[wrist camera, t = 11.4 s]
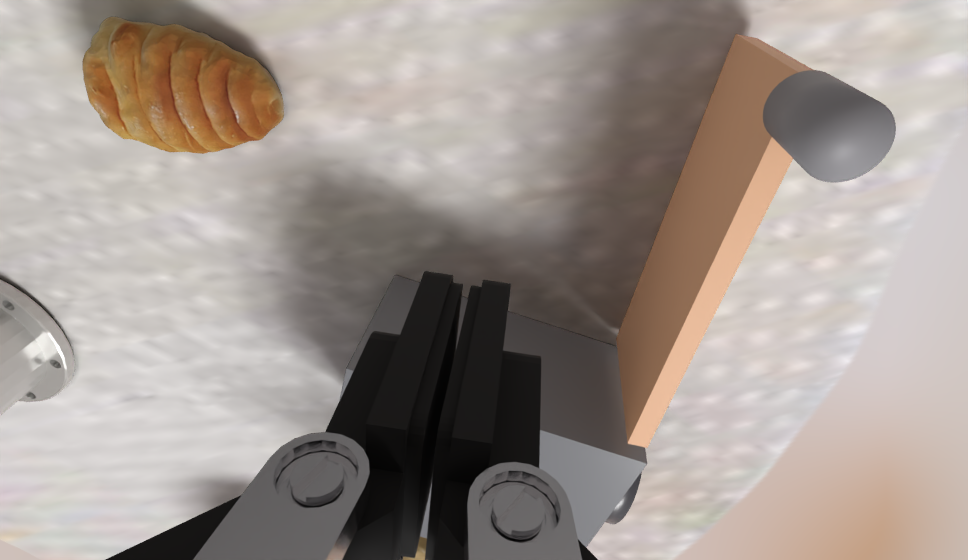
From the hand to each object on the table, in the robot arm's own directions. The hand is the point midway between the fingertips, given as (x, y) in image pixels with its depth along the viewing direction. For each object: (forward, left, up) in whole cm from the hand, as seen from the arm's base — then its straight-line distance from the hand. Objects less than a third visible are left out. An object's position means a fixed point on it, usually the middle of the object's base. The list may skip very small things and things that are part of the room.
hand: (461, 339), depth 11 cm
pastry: (-18, -5, -21) cm, 28 cm away
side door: (+10, -3, -20) cm, 22 cm away
